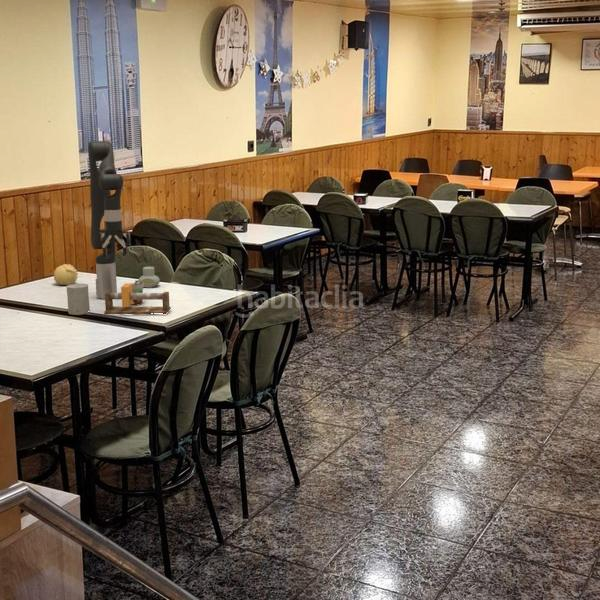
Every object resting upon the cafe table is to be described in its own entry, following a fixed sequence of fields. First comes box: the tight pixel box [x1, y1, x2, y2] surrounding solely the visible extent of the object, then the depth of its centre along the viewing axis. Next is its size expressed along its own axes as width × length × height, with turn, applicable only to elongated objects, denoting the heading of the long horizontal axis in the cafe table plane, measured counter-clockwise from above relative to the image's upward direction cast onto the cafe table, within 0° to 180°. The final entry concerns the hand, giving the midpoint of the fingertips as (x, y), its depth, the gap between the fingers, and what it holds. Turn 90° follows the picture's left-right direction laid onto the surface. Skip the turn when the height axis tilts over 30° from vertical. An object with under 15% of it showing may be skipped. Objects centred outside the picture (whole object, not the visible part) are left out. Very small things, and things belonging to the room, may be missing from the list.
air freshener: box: [138, 266, 161, 289], centre depth 442 cm, size 11×8×10 cm
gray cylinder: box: [65, 283, 91, 316], centre depth 389 cm, size 10×10×12 cm
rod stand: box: [103, 291, 172, 314], centre depth 388 cm, size 28×10×9 cm, turn 87°
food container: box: [131, 279, 145, 306], centre depth 405 cm, size 12×6×10 cm, turn 168°
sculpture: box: [53, 263, 78, 286], centre depth 449 cm, size 11×12×11 cm
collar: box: [120, 283, 133, 307], centre depth 388 cm, size 3×8×9 cm, turn 177°
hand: (115, 255), depth 384 cm, fingers open, 8 cm apart
